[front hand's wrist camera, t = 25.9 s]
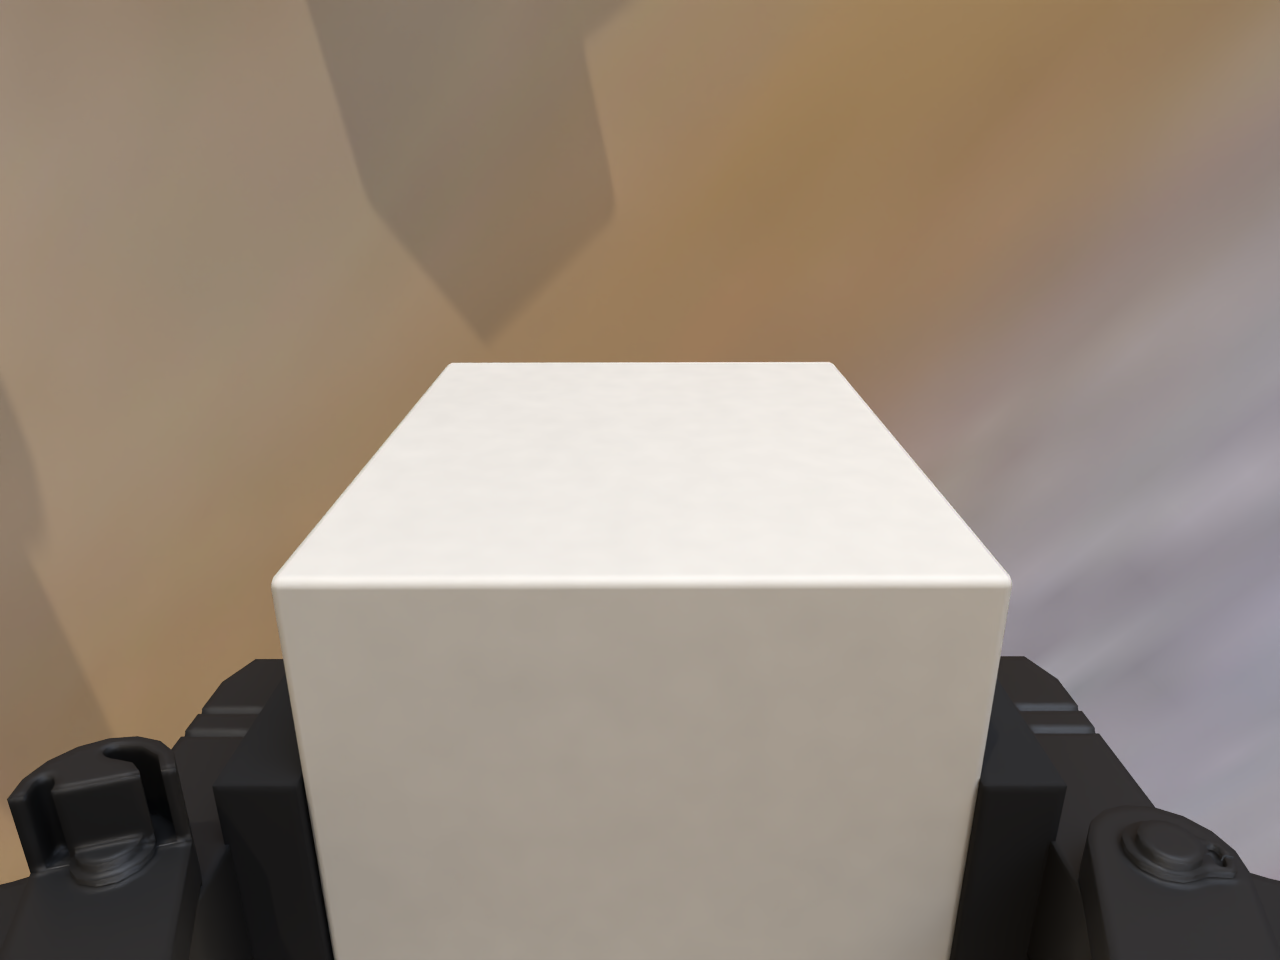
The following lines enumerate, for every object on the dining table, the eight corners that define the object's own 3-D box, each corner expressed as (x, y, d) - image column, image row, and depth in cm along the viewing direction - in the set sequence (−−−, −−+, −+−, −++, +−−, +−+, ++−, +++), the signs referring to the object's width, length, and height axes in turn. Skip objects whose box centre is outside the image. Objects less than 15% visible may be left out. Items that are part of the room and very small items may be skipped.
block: (807, 702, 17) (928, 1114, 10) (475, 703, 17) (356, 1115, 10) (833, 360, 14) (1019, 578, 7) (447, 361, 14) (264, 579, 7)
